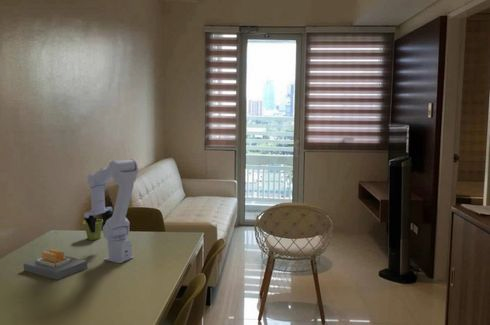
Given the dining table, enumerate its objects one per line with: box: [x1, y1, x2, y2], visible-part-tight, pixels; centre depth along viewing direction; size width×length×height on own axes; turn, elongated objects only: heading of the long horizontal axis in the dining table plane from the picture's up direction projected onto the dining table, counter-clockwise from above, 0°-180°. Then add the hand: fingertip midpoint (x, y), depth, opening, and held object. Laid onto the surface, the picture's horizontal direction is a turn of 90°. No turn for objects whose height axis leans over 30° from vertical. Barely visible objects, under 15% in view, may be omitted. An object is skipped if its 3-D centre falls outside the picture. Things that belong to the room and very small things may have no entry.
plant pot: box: [82, 218, 103, 241], centre depth 215 cm, size 9×9×9 cm
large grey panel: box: [23, 255, 88, 281], centre depth 173 cm, size 20×14×4 cm
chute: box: [41, 248, 65, 264], centre depth 173 cm, size 8×4×4 cm, turn 59°
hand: (99, 230), depth 195 cm, fingers open, 7 cm apart
